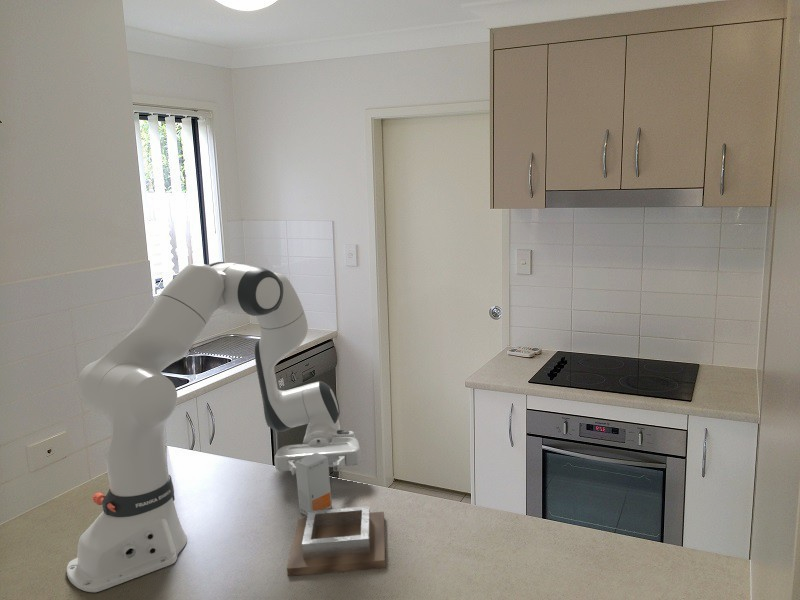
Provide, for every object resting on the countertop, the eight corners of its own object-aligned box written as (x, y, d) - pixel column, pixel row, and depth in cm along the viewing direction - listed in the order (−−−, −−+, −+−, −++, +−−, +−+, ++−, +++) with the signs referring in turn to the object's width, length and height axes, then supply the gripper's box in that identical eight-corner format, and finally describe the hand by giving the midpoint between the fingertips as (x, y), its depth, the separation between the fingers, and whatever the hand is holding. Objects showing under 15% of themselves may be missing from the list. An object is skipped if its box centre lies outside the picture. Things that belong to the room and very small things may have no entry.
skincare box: (311, 518, 144) (306, 466, 142) (299, 512, 147) (293, 461, 145) (333, 507, 149) (328, 456, 146) (321, 501, 152) (315, 451, 149)
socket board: (287, 575, 124) (285, 553, 124) (298, 525, 142) (296, 505, 141) (385, 567, 125) (383, 545, 124) (384, 518, 142) (382, 498, 141)
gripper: (276, 437, 166) (268, 460, 152) (360, 430, 166) (358, 453, 153) (279, 461, 167) (271, 486, 153) (362, 454, 167) (360, 479, 154)
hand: (315, 470), depth 153 cm, fingers open, 8 cm apart
